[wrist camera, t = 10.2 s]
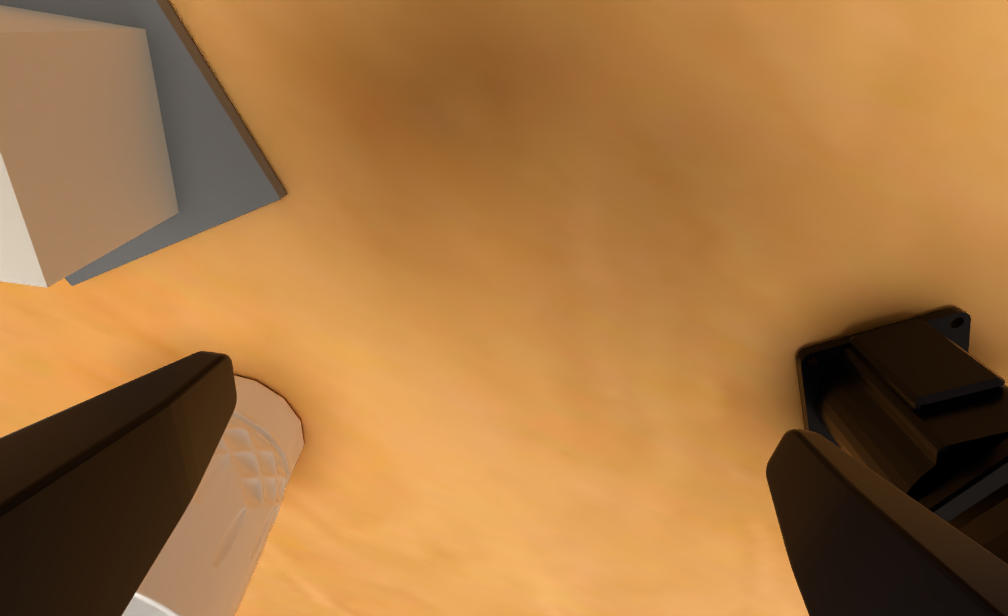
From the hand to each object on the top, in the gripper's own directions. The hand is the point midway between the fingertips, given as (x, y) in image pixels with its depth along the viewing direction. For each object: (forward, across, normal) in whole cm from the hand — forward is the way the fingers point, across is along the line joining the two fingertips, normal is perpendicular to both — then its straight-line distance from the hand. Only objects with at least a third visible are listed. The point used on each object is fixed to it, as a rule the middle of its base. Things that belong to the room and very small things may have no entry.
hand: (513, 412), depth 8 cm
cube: (+11, +15, 0) cm, 19 cm away
